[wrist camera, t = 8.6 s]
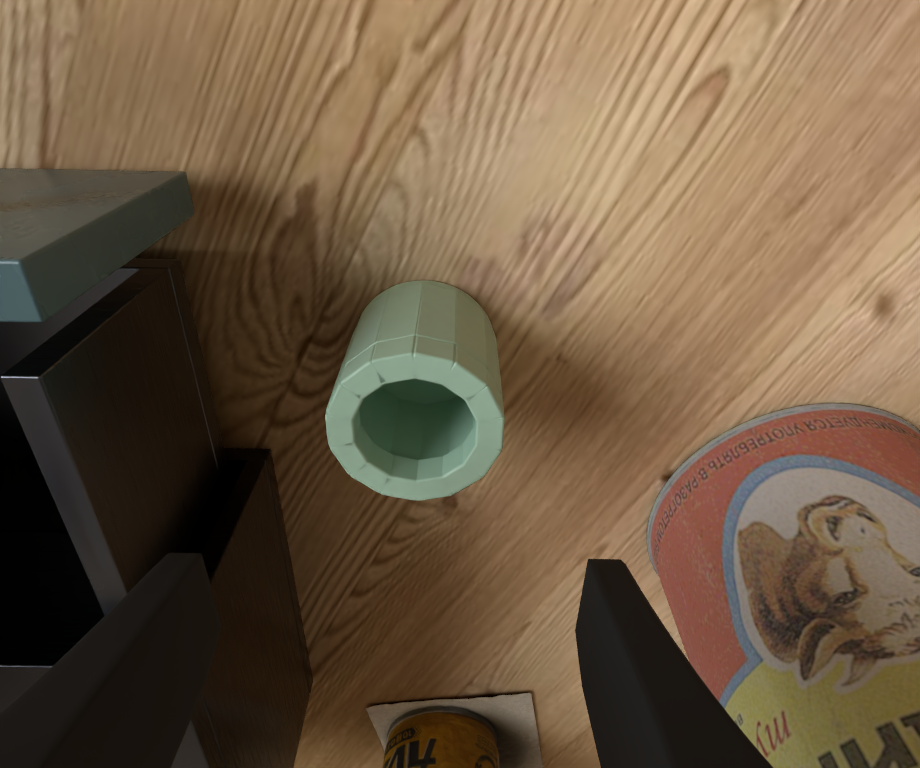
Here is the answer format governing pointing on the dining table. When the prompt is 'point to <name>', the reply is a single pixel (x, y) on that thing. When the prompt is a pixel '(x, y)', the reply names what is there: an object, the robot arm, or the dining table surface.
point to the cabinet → (230, 636)
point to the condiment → (459, 733)
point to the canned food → (802, 582)
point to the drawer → (96, 398)
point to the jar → (418, 394)
